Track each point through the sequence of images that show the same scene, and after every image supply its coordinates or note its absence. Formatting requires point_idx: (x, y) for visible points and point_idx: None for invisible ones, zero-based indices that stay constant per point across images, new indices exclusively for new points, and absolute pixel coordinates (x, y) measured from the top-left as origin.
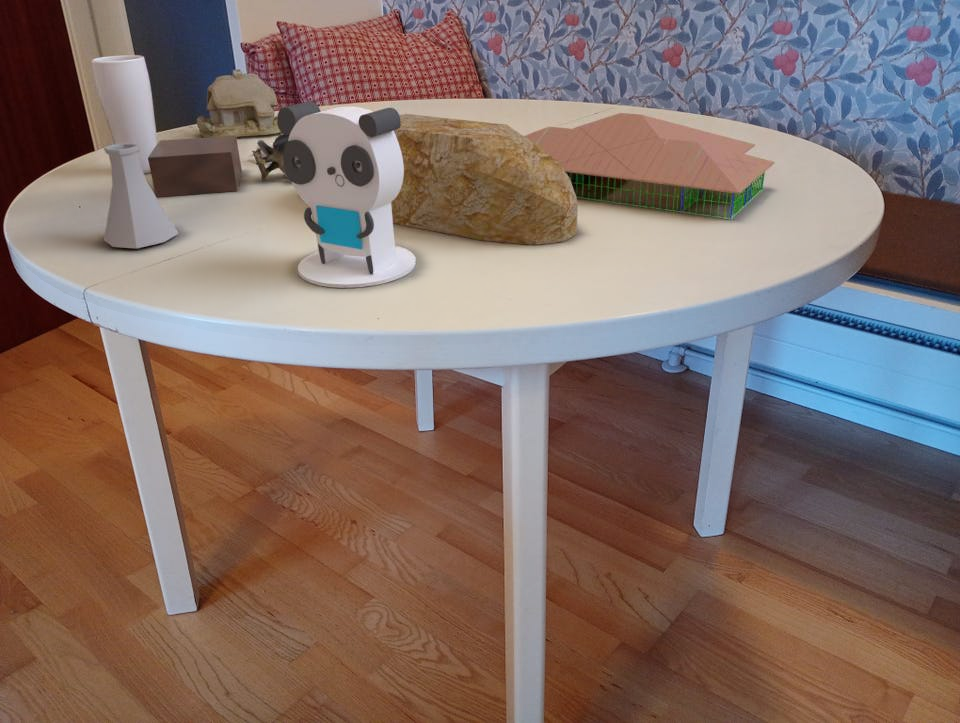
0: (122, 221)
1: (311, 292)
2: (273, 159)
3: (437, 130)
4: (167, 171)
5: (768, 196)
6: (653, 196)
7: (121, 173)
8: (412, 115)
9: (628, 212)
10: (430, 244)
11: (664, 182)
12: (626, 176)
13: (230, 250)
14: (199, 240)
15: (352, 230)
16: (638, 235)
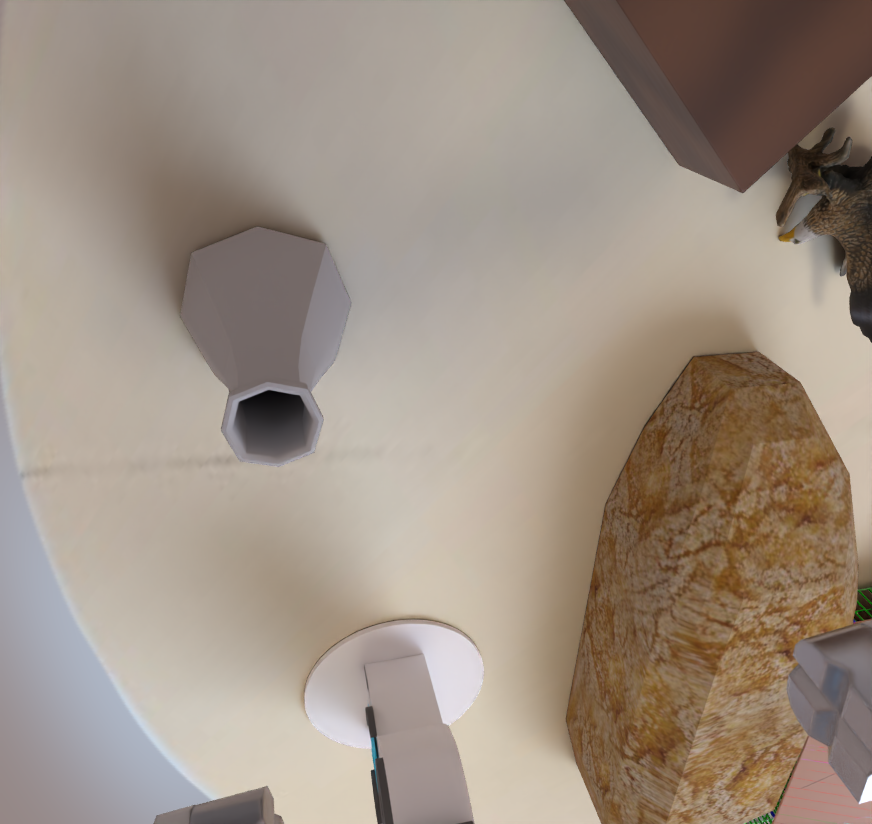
0: (209, 359)
1: (279, 711)
2: (830, 201)
3: (703, 777)
4: (609, 22)
5: None
6: None
7: (240, 409)
8: None
9: None
10: (523, 688)
11: (778, 815)
12: (795, 781)
13: (335, 505)
14: (341, 413)
15: (375, 770)
16: None
